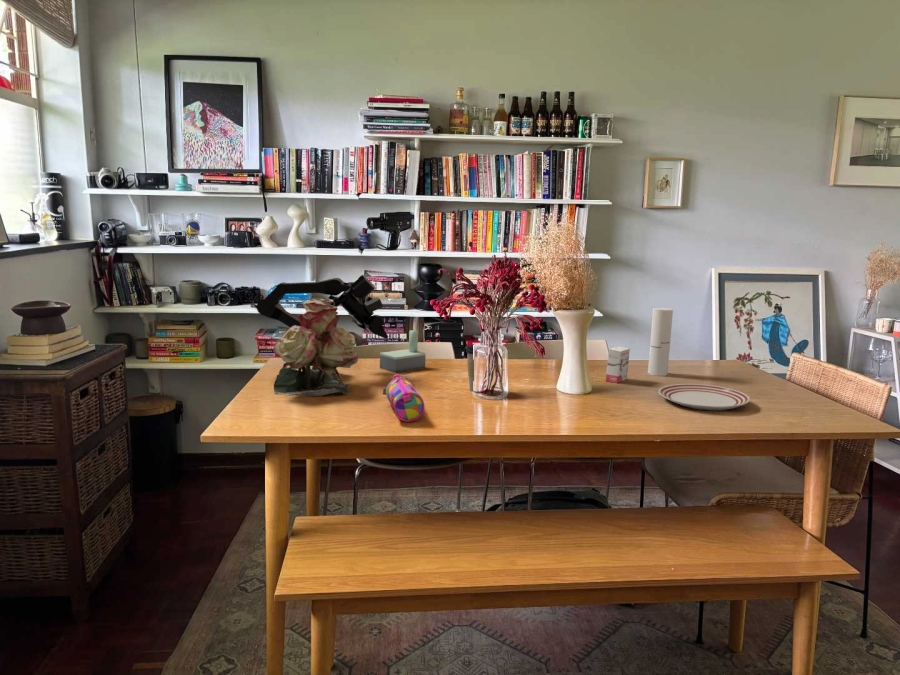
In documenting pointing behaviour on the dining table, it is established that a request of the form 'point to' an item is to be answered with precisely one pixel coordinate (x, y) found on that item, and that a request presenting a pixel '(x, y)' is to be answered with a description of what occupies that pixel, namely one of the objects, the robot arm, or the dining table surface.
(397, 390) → the pencil case
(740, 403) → the dinner plate
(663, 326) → the cylindrical container
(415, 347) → the pale green stand
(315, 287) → the robot arm
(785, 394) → the dining table surface
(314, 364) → the rose bouquet
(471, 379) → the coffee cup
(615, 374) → the ink box
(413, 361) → the parts tub
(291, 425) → the dining table surface
